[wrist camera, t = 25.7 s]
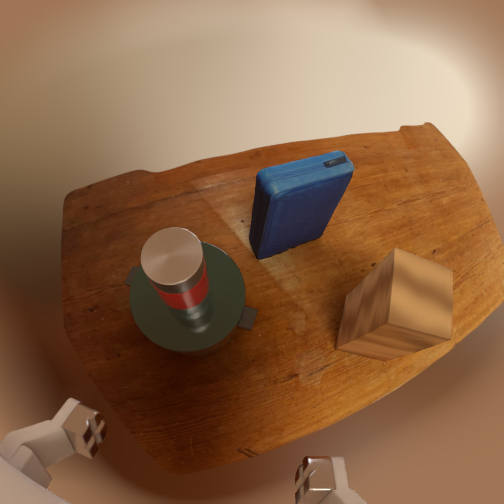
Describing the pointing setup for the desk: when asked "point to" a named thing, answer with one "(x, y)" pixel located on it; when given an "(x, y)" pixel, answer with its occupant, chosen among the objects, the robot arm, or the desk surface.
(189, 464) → the desk surface
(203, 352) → the pot
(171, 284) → the can
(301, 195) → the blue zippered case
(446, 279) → the block
